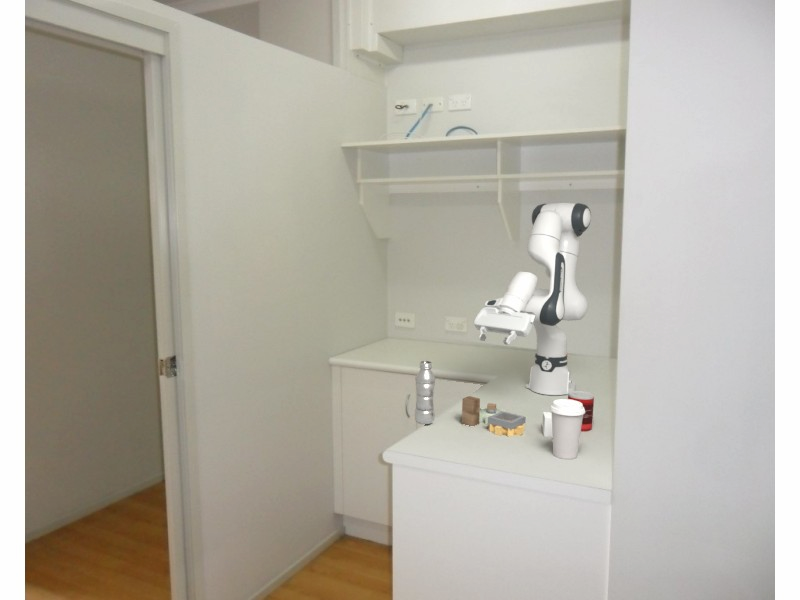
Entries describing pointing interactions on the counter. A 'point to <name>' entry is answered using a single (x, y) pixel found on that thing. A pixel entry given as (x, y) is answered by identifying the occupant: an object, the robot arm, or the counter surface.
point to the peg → (470, 410)
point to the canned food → (588, 404)
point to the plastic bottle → (425, 394)
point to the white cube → (547, 424)
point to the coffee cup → (566, 427)
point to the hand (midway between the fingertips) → (493, 341)
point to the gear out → (506, 424)
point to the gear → (488, 412)
